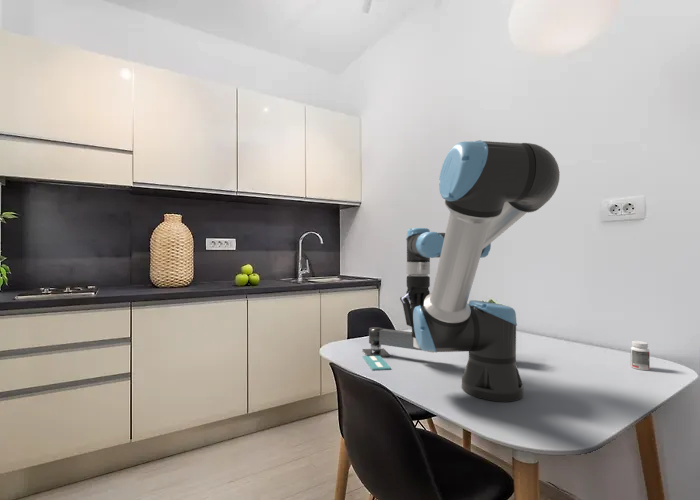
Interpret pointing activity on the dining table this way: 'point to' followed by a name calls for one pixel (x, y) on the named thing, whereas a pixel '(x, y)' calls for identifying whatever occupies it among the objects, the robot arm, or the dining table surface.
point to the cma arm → (391, 338)
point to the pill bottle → (640, 355)
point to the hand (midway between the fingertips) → (417, 347)
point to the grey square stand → (376, 351)
